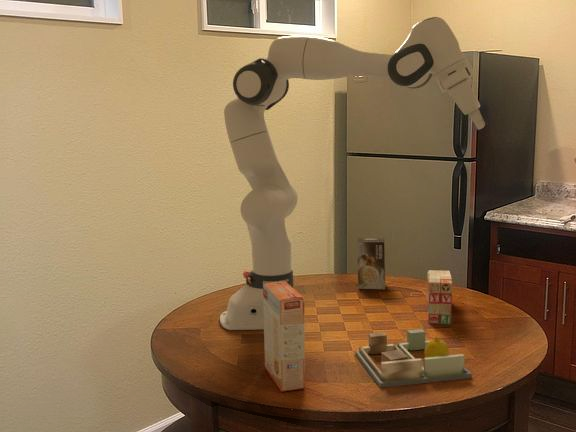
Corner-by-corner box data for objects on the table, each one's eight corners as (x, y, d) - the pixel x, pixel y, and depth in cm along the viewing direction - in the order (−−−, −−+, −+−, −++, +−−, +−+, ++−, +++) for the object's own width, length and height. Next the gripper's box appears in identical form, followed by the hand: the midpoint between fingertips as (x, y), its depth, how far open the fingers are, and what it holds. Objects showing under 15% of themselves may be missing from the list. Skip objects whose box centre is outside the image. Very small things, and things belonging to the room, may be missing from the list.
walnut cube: (390, 378, 142) (390, 359, 141) (381, 371, 146) (381, 352, 145) (408, 375, 144) (408, 356, 143) (398, 367, 148) (398, 349, 147)
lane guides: (380, 387, 138) (380, 383, 137) (355, 354, 156) (355, 350, 155) (471, 377, 141) (471, 373, 141) (437, 346, 159) (437, 343, 159)
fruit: (452, 373, 144) (453, 339, 143) (429, 375, 143) (430, 341, 142) (443, 363, 149) (443, 331, 148) (420, 365, 148) (421, 333, 147)
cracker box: (307, 389, 138) (305, 296, 134) (280, 393, 136) (278, 299, 132) (288, 364, 151) (286, 279, 147) (264, 367, 149) (261, 282, 145)
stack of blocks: (426, 300, 197) (427, 261, 194) (447, 301, 195) (448, 262, 193) (428, 324, 176) (429, 281, 174) (451, 325, 175) (452, 282, 172)
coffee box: (385, 284, 214) (385, 237, 211) (385, 289, 208) (385, 242, 205) (358, 283, 215) (358, 237, 213) (357, 289, 209) (357, 241, 206)
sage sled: (425, 378, 141) (425, 359, 140) (397, 348, 158) (397, 331, 158) (463, 374, 143) (464, 355, 142) (431, 345, 160) (431, 328, 159)
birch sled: (382, 383, 139) (382, 363, 138) (358, 352, 157) (358, 334, 156) (422, 379, 141) (422, 359, 140) (393, 348, 158) (394, 331, 157)
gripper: (447, 85, 167) (471, 131, 167) (440, 83, 147) (468, 136, 148) (469, 72, 164) (494, 119, 164) (465, 69, 145) (493, 122, 145)
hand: (482, 127), depth 156 cm, fingers open, 8 cm apart
